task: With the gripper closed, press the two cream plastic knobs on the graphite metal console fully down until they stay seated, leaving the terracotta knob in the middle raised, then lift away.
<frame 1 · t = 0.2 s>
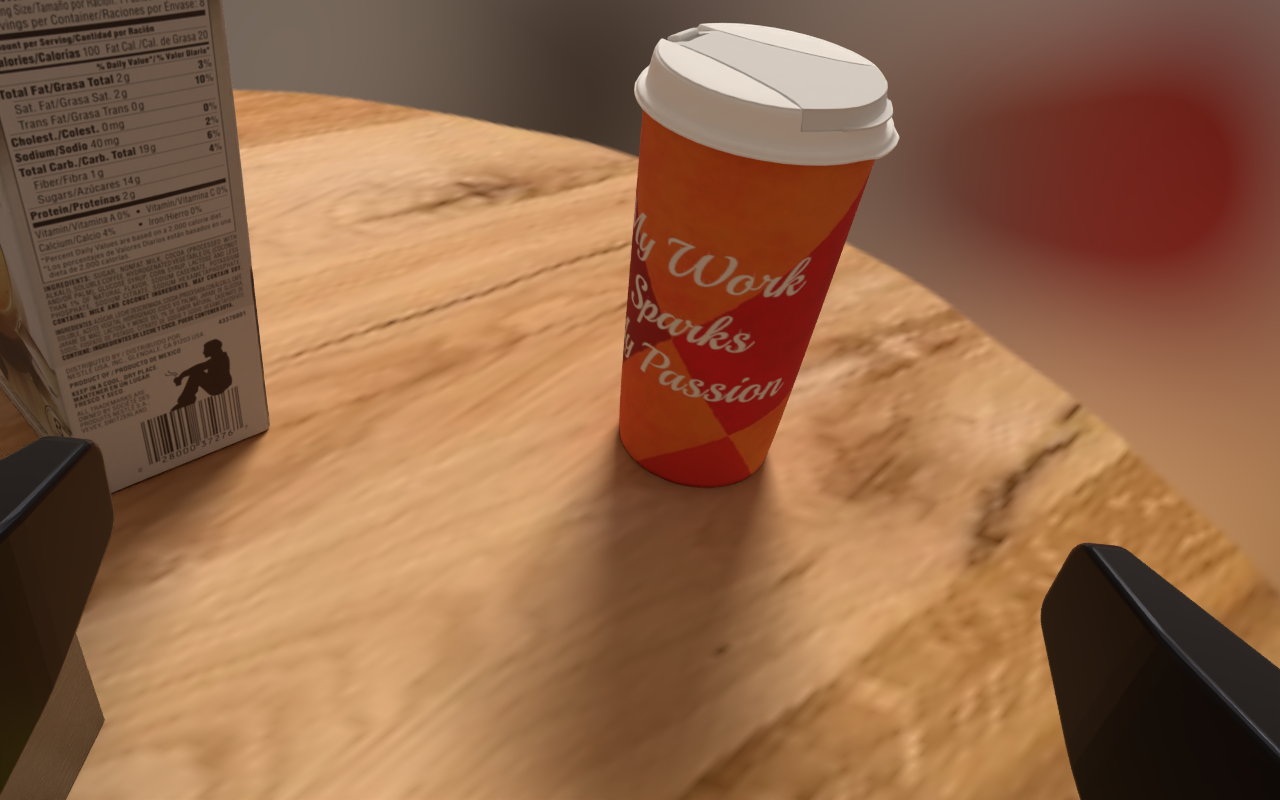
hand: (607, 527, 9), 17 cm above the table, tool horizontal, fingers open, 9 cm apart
paper cup: (693, 441, 37), on the table
coffee box: (126, 401, 35), on the table
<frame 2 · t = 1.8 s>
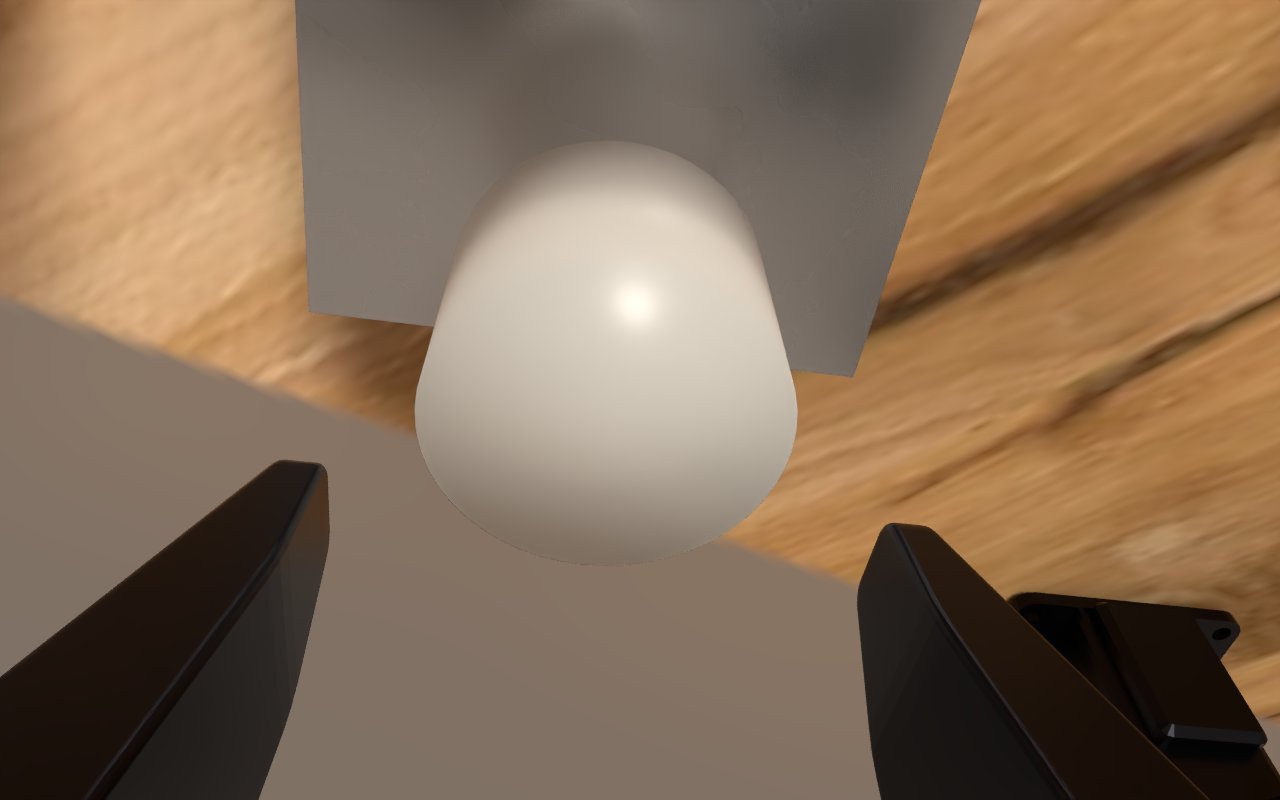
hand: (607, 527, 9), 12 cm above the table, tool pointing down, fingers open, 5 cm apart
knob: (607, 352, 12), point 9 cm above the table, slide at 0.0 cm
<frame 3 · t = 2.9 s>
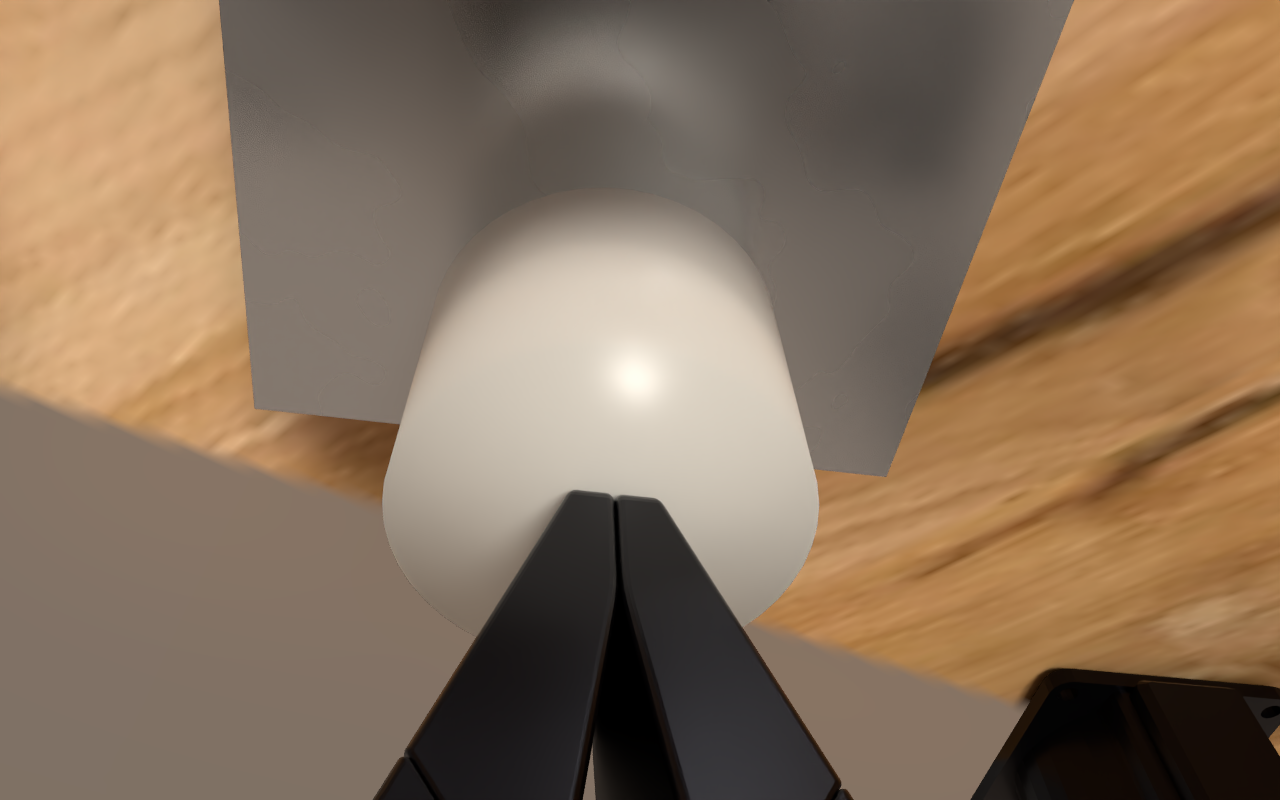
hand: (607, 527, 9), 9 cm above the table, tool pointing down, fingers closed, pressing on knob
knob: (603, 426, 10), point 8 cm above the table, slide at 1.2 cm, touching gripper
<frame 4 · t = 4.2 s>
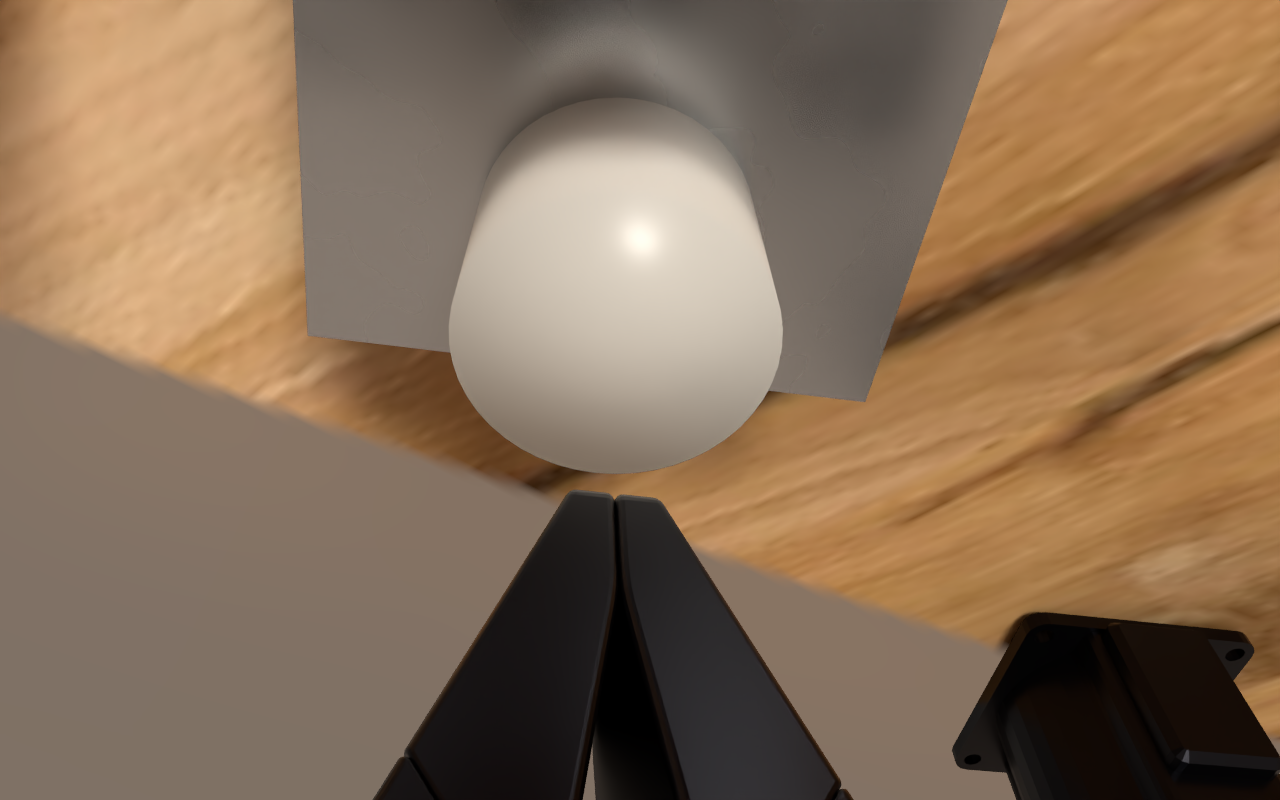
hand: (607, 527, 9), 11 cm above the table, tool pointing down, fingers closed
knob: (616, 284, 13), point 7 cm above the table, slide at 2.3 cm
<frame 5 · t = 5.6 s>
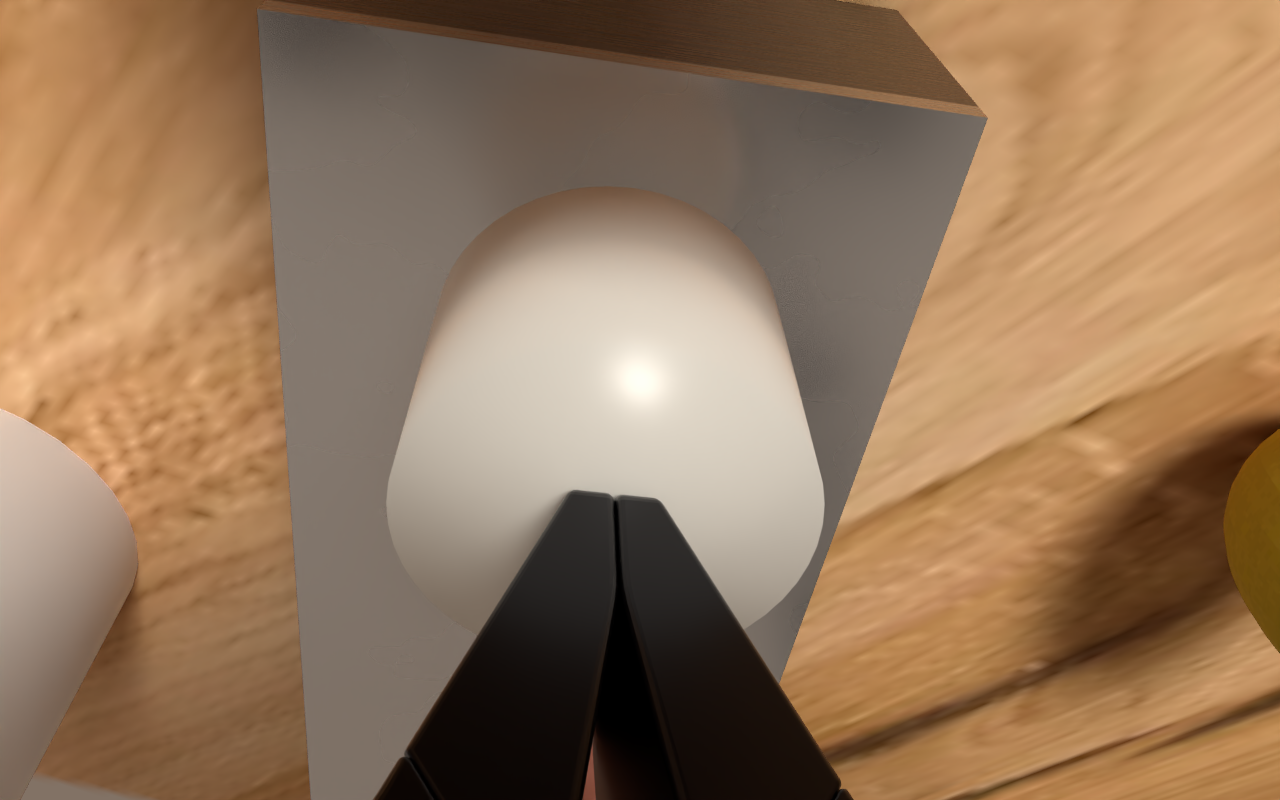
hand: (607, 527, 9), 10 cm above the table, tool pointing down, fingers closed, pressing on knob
console: (561, 461, 22), on the table
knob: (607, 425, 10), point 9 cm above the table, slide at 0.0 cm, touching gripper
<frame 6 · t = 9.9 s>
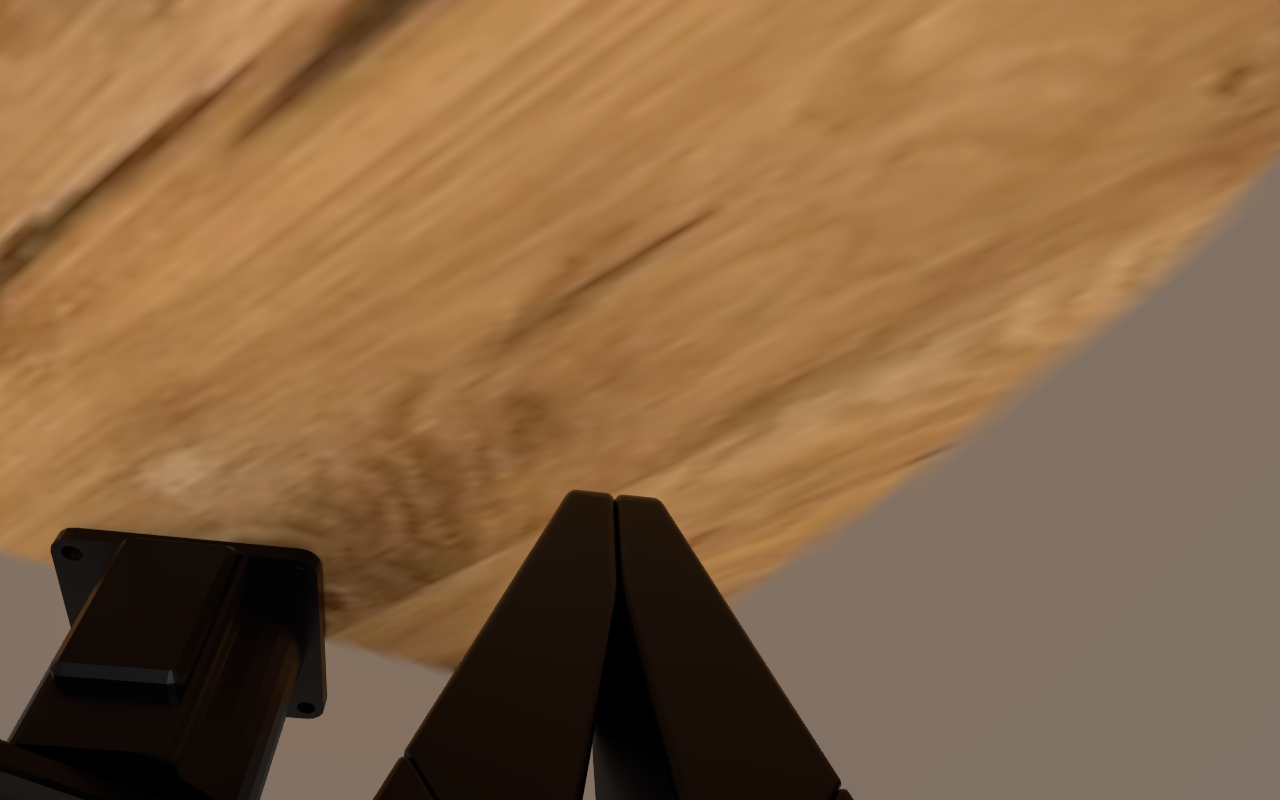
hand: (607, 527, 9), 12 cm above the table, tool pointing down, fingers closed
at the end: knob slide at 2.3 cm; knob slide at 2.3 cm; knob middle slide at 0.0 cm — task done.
